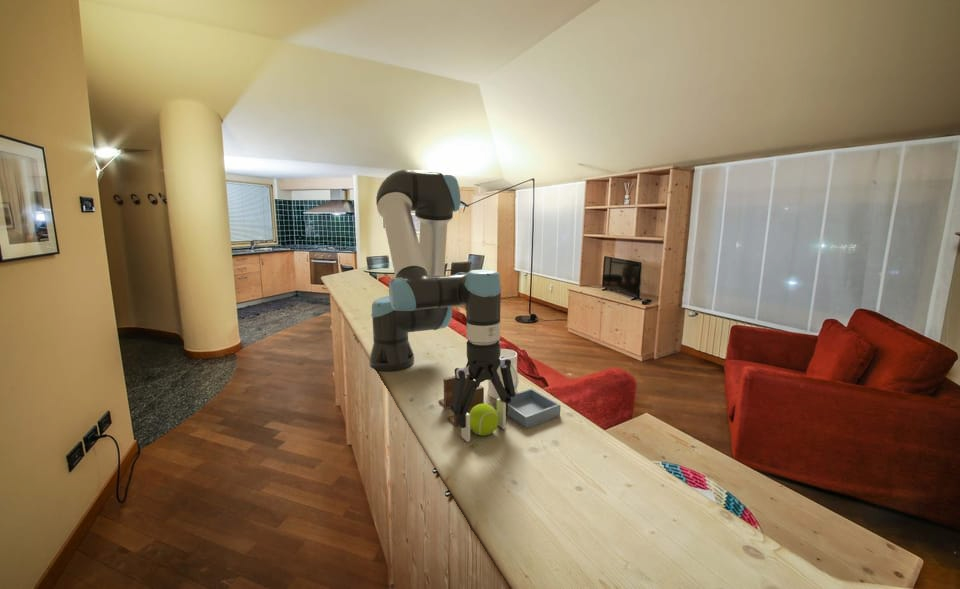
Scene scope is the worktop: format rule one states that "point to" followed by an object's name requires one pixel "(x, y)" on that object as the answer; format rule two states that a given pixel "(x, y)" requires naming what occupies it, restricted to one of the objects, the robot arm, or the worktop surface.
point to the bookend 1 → (449, 390)
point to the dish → (532, 408)
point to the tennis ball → (483, 419)
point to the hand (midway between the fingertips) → (483, 432)
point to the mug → (491, 389)
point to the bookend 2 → (476, 400)
